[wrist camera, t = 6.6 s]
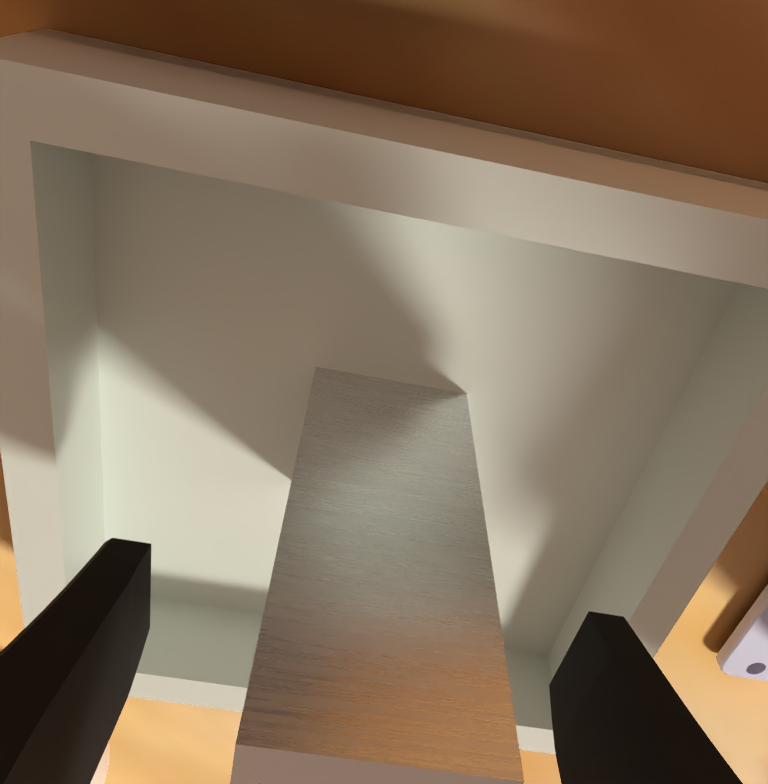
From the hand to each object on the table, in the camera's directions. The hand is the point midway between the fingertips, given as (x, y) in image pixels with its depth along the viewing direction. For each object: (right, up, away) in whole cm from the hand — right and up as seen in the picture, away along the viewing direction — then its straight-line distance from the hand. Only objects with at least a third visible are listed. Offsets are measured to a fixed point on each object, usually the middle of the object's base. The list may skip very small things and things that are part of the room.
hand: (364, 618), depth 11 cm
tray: (0, +3, +5) cm, 5 cm away
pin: (0, +3, +4) cm, 5 cm away
